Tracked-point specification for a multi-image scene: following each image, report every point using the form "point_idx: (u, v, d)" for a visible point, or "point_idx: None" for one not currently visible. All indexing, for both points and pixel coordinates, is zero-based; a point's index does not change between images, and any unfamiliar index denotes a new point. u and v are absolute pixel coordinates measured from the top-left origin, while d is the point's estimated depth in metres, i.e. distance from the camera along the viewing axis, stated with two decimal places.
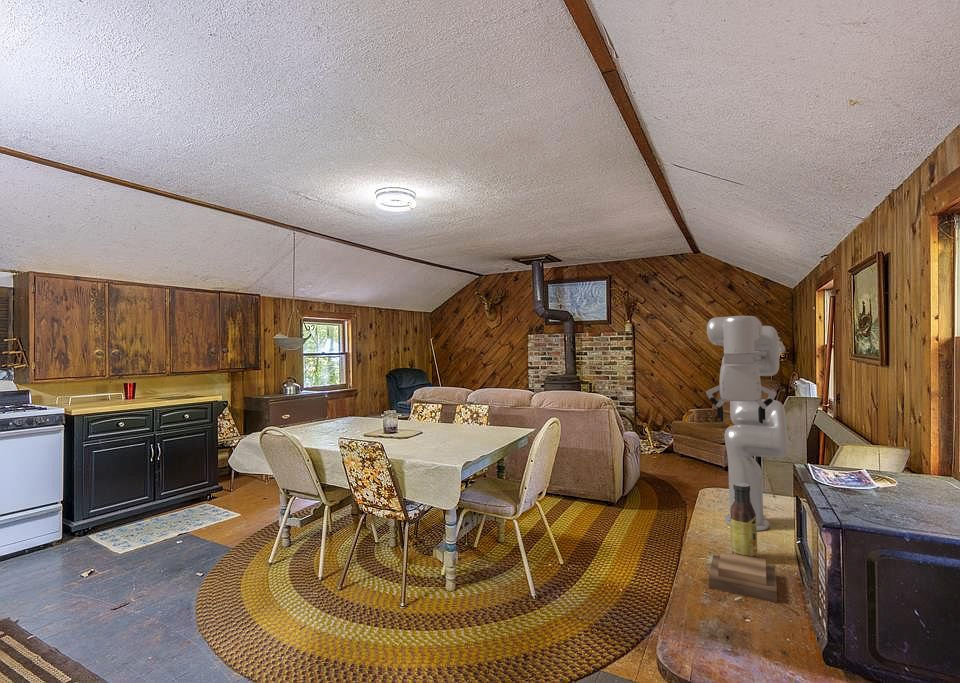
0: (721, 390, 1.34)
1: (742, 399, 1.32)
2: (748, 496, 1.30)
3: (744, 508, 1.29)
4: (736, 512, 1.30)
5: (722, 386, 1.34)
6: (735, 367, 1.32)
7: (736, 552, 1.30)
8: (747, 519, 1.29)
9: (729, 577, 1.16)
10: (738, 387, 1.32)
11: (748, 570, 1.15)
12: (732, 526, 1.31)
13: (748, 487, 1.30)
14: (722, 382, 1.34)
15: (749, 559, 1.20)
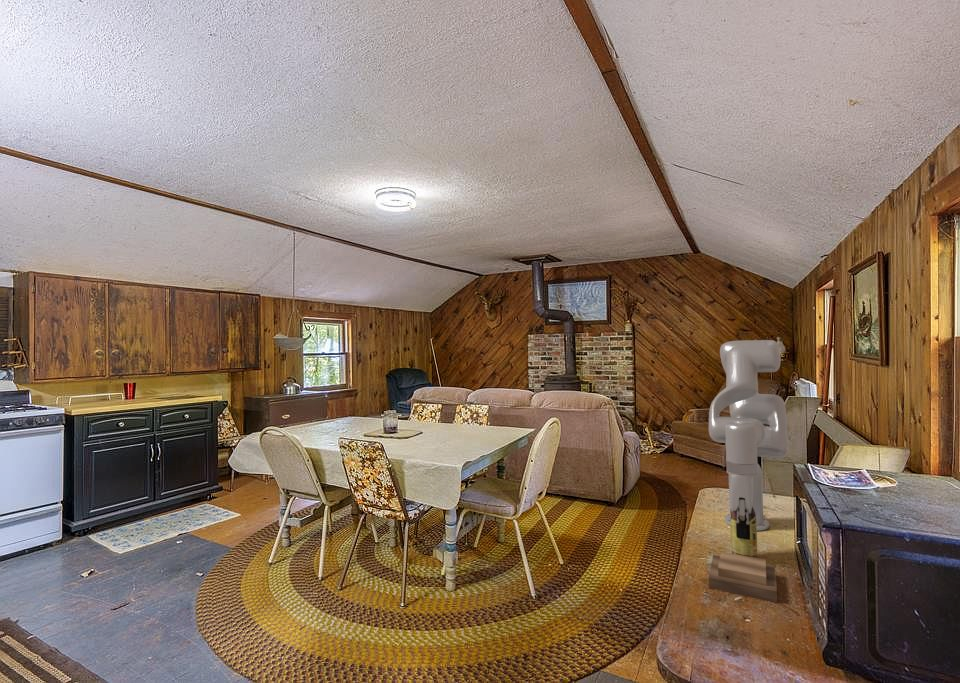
0: (750, 504, 1.27)
1: None
2: None
3: None
4: (736, 512, 1.30)
5: (750, 500, 1.27)
6: (752, 476, 1.29)
7: (736, 552, 1.30)
8: None
9: (729, 577, 1.16)
10: None
11: (748, 570, 1.15)
12: (732, 526, 1.31)
13: None
14: (750, 495, 1.27)
15: (749, 559, 1.20)
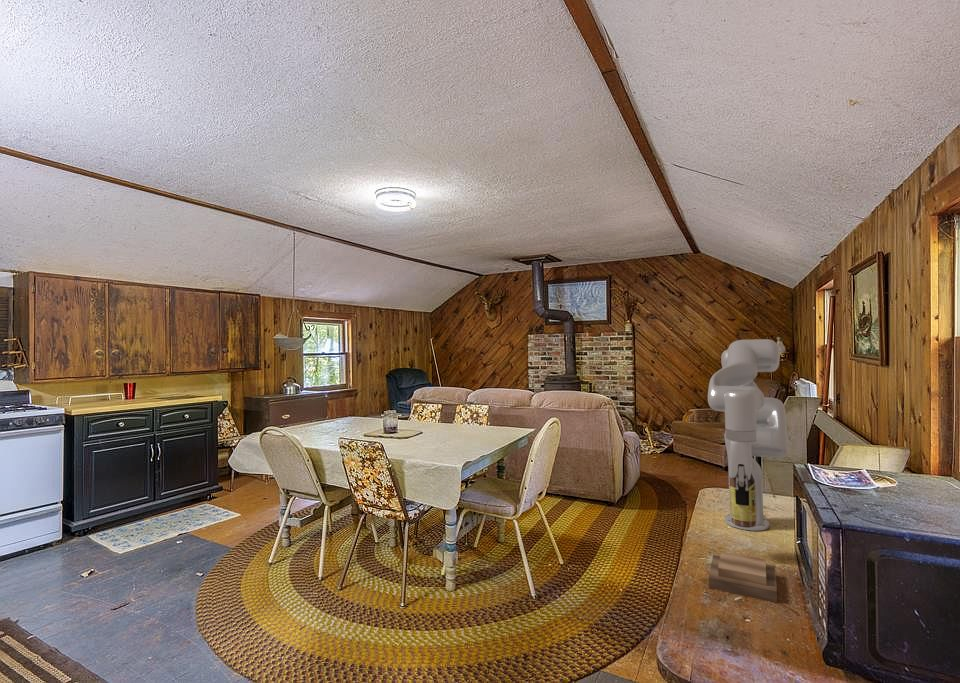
0: (749, 470, 1.27)
1: None
2: None
3: None
4: (735, 479, 1.31)
5: (750, 466, 1.27)
6: None
7: (735, 518, 1.31)
8: None
9: (729, 577, 1.16)
10: None
11: (748, 570, 1.15)
12: (731, 493, 1.32)
13: None
14: (749, 462, 1.27)
15: (749, 559, 1.20)
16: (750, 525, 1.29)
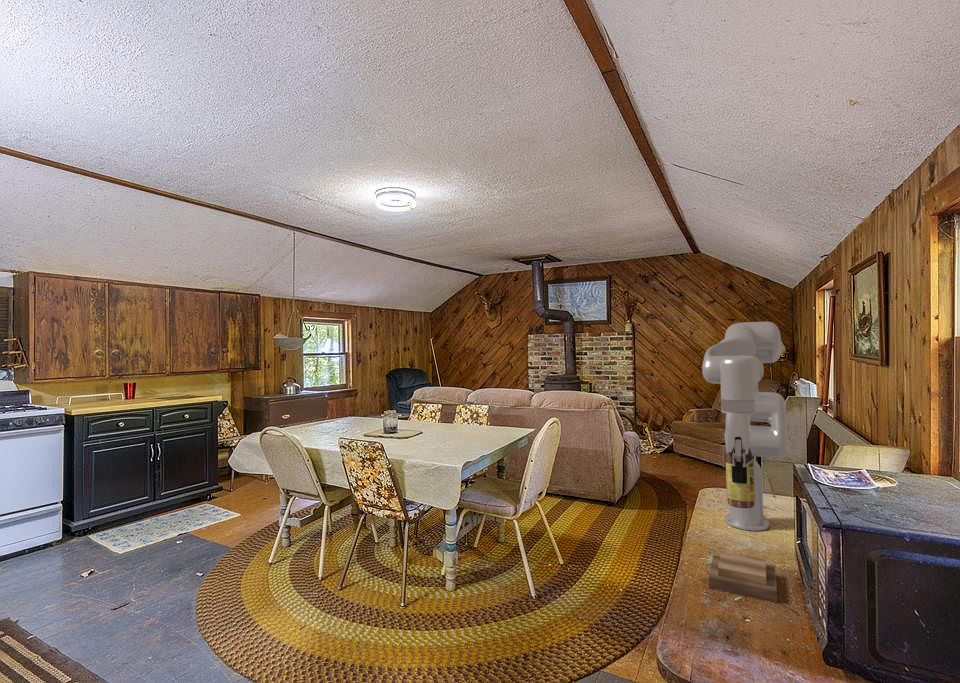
0: (747, 444, 1.15)
1: None
2: None
3: None
4: (731, 454, 1.19)
5: (747, 439, 1.15)
6: (749, 415, 1.18)
7: (732, 499, 1.18)
8: None
9: (729, 577, 1.16)
10: None
11: (748, 570, 1.15)
12: (727, 470, 1.20)
13: None
14: (747, 434, 1.15)
15: (749, 559, 1.20)
16: (748, 505, 1.17)
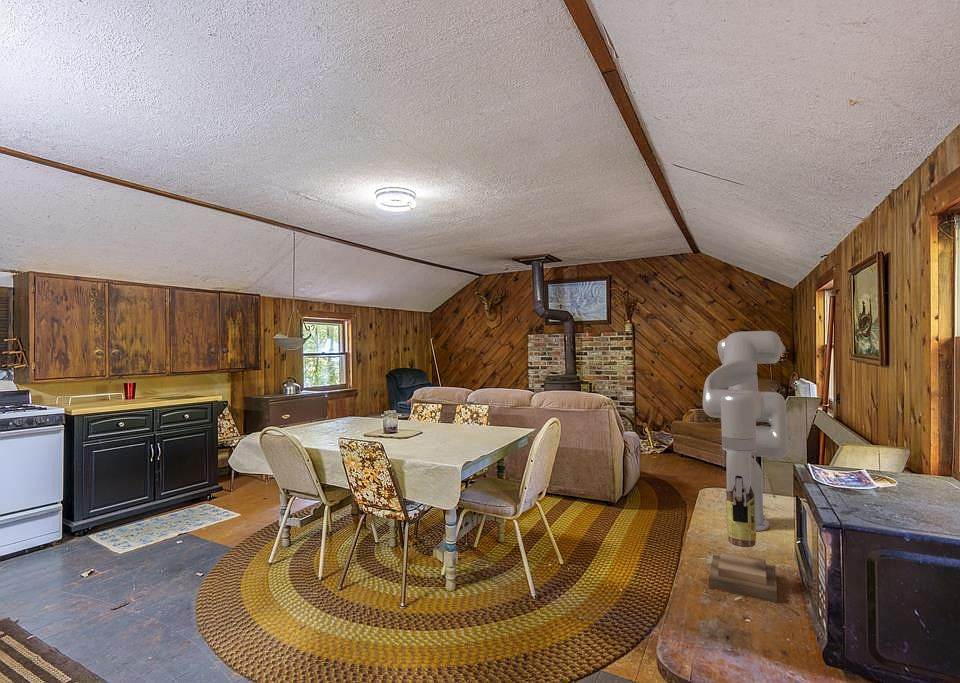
0: (748, 483, 1.14)
1: None
2: None
3: None
4: (732, 492, 1.17)
5: (748, 478, 1.14)
6: (750, 453, 1.16)
7: (732, 537, 1.17)
8: None
9: (729, 577, 1.16)
10: None
11: (748, 570, 1.15)
12: (728, 508, 1.18)
13: None
14: (748, 473, 1.14)
15: (749, 559, 1.20)
16: (749, 545, 1.15)
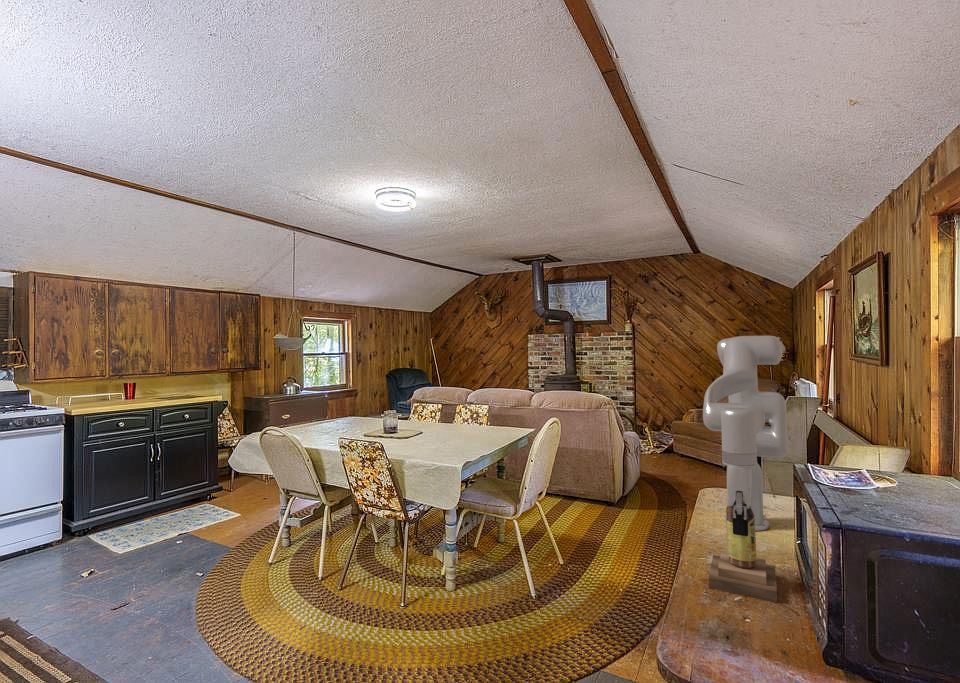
0: (748, 498, 1.14)
1: None
2: None
3: None
4: (732, 513, 1.17)
5: (749, 493, 1.14)
6: (750, 468, 1.16)
7: (733, 558, 1.17)
8: None
9: (729, 577, 1.16)
10: None
11: (748, 570, 1.15)
12: (728, 529, 1.19)
13: None
14: (748, 488, 1.14)
15: None
16: (749, 565, 1.15)
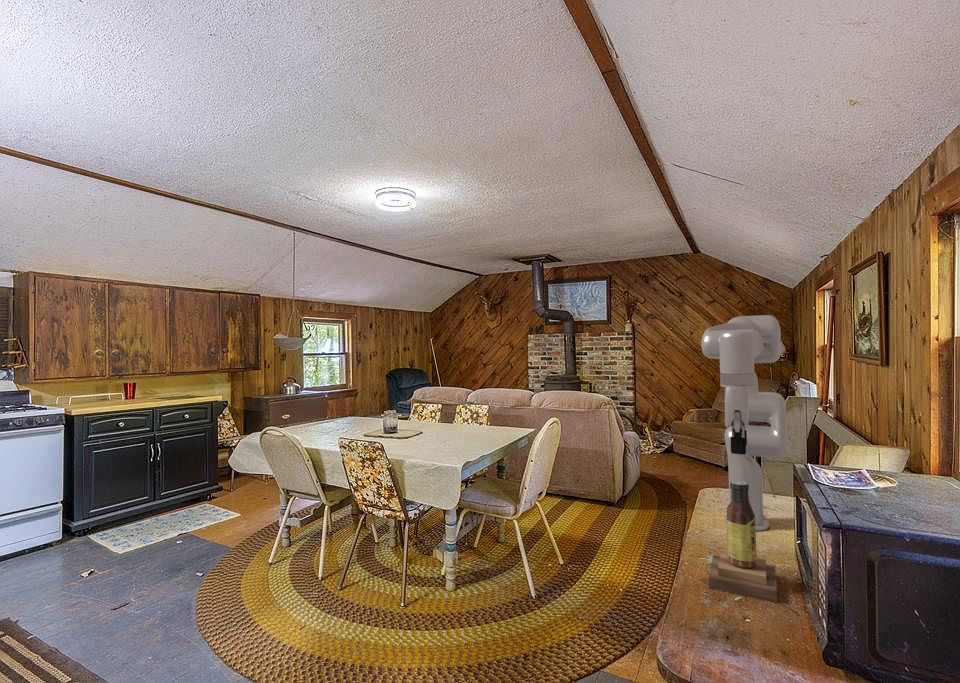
0: (746, 417, 1.15)
1: None
2: (746, 495, 1.17)
3: (742, 509, 1.17)
4: (733, 513, 1.17)
5: (747, 412, 1.15)
6: (748, 388, 1.17)
7: (733, 558, 1.17)
8: (745, 521, 1.16)
9: (729, 577, 1.16)
10: None
11: (748, 570, 1.15)
12: (729, 529, 1.18)
13: (746, 485, 1.17)
14: (746, 407, 1.15)
15: None
16: (749, 566, 1.15)
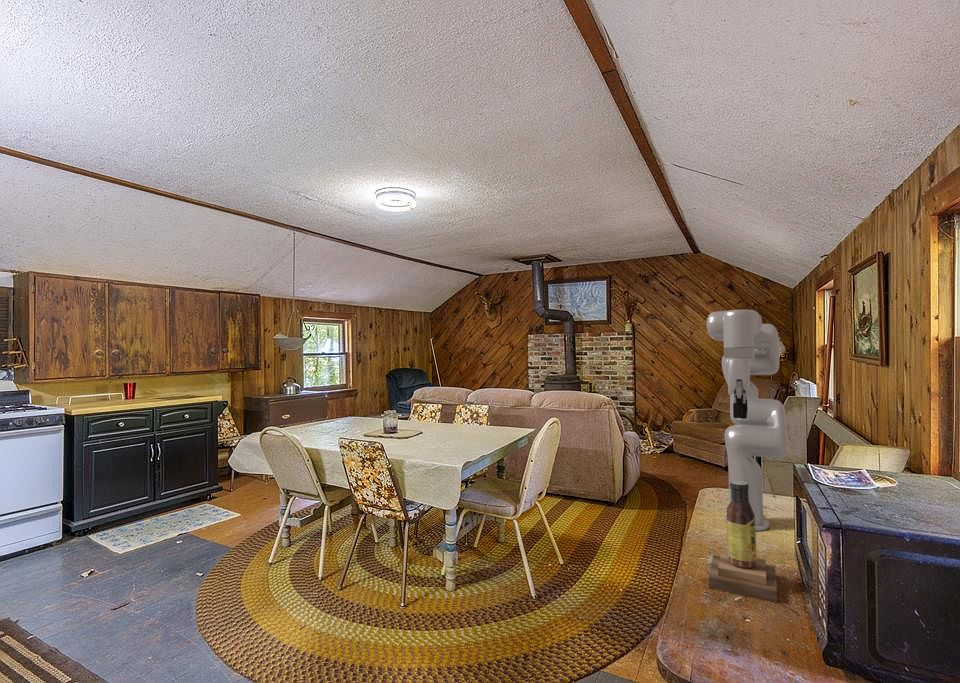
0: (747, 385, 1.29)
1: None
2: (746, 495, 1.17)
3: (742, 509, 1.17)
4: (733, 513, 1.17)
5: (747, 381, 1.29)
6: (749, 361, 1.32)
7: (733, 558, 1.17)
8: (745, 521, 1.16)
9: (729, 577, 1.16)
10: (748, 381, 1.33)
11: (748, 570, 1.15)
12: (728, 529, 1.18)
13: (746, 485, 1.17)
14: (747, 377, 1.29)
15: None
16: (749, 566, 1.15)
